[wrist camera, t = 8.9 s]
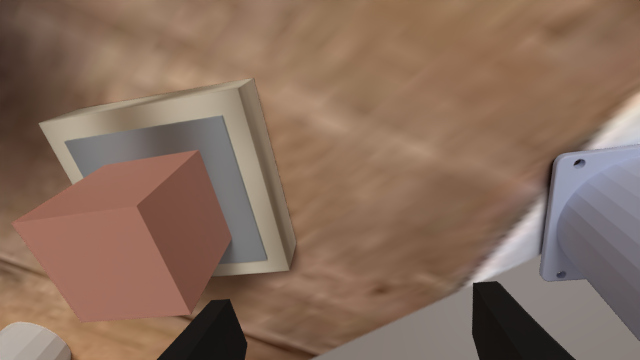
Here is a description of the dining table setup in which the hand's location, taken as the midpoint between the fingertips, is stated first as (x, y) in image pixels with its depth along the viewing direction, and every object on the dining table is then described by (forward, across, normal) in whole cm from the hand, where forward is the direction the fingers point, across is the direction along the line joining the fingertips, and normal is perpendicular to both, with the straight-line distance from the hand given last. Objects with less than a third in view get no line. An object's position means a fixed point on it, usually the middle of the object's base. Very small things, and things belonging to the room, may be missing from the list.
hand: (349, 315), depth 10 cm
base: (+9, +9, -1) cm, 13 cm away
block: (+7, +9, -1) cm, 11 cm away
